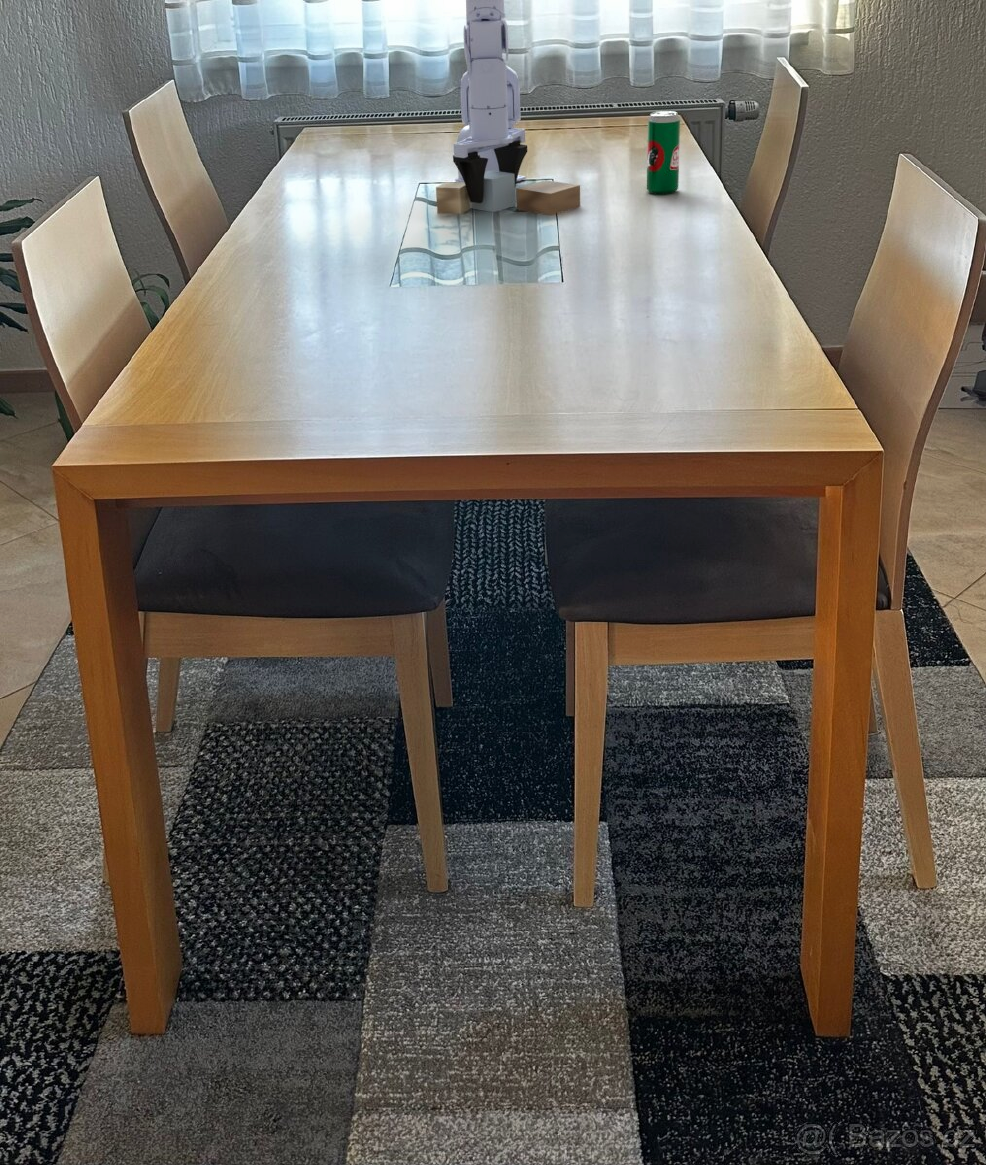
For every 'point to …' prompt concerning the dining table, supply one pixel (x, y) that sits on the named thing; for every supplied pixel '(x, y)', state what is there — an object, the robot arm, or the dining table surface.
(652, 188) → the soda can
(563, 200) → the walnut base
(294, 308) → the dining table surface
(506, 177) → the light grey cube
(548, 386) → the dining table surface
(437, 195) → the oak block
